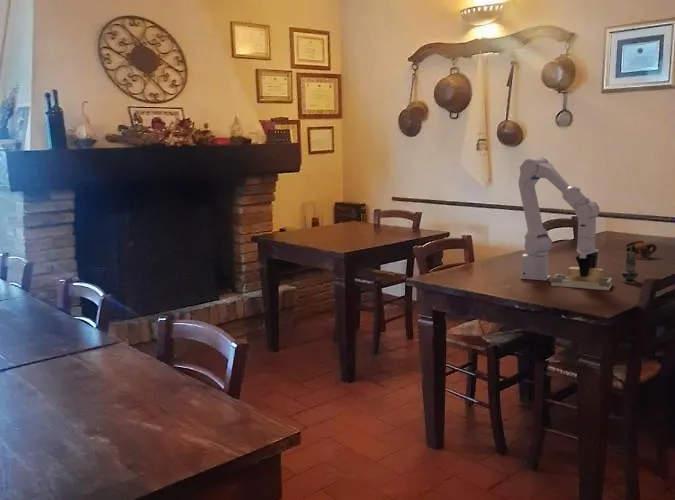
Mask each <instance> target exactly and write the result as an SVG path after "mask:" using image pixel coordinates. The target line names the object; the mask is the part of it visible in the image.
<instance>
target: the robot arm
mask: <svg viewBox="0 0 675 500" xmlns="http://www.w3.org/2000/svg"><path fill="white" fill-rule="evenodd" d="M519 172H520V173H519V178H518V190H519V193H520V198H521V202H522V207H523V213H524V217H525V218H524V219H525V223H526V227H527V232H526V233H525V235H524V239H525V241H524V250H525V252H526V253H523V254H522V256H521V259H520V260H521V261H520V279H521V280H522V279H523V280H535V281H548V279H550V278H551V275H550V274H549V254H550V252H549V251H551V249H552V248H553V241H552V238H551V237H550V235H549V233H548V230H547V229H545V227H544V226H543V219H542V216H541V210H540V206H539V201H538V196H537V191H536V184H537V183H538V181H539V180H540V179H546V180H547V181H548V182H549V183H550V184H552V185H553V186H554V187H555V188H557V189H558V190H559V191H560V192H561V193H562V200H564V201H565V202H566V203H567V204H568V205H569V206H570V207H571V208H572V209H573V210H574V212H575V215H576V217H577V220H578V221H577V223H578V224H577V226H578V227H577V246H576V247H577V248H576V252H577V253H578V255H576V256H575V260H576V261H577V265H578V267H579V269H580V275H581V276H582V277H587V276H588V273H589V268H591V265H592V262H593V259H594V257H595V256H596V254H591V253H595V252H598V250H596V249H595V247H596V235H597V234H596V231H597V217H598V216H599V214H600V207H599V205H598V204H597V202H595V201H592V200H591V199H590V198H589V197H586V195H584V194H583V193H582V192H581V190H582V189H581V188H580V187H577V186H570V184H568V182H567V181H566V180H565V179H564V177H562V175H561V174H560V173H559V172H558V171H557V170H556V169H555V167H554V166H553V164H552V163H551V162H550V161H548V159H547V158H545V157H540V158H527V159H525V160H524V161H523V162H522V164H520V166H519ZM590 200H591V201H590Z"/></svg>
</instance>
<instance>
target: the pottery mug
mask: <svg viewBox="0 0 675 500" xmlns="http://www.w3.org/2000/svg"><path fill="white" fill-rule="evenodd" d="M625 247H626V249H625V252H626V253H627V252H629V251H631V249H632V251H633V252H635V258H636V260H642V259H648V260H649V259H650V257H651V256H652V255H654V253H656V252H657V250H658V246H657V245H656V244H655V243H647V244H646V243H645V241H644V240H635V241H632V242H629V243H627V244H626V245H625ZM651 248H652V249H651Z"/></svg>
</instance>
